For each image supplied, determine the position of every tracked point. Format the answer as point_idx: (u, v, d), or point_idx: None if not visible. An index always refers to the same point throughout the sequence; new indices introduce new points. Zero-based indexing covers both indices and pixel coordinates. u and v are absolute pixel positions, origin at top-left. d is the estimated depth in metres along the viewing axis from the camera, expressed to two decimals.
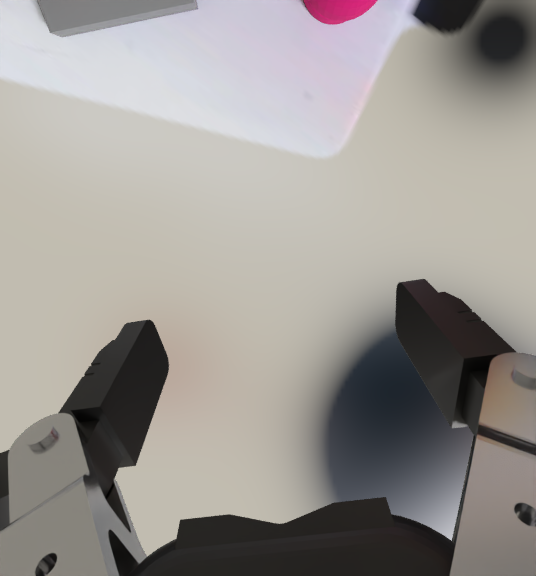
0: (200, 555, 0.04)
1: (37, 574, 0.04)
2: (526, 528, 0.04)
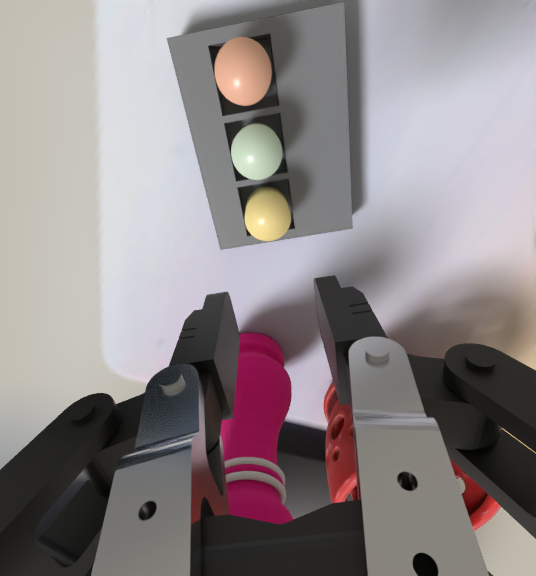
0: (200, 555, 0.04)
1: (140, 514, 0.04)
2: (409, 494, 0.04)
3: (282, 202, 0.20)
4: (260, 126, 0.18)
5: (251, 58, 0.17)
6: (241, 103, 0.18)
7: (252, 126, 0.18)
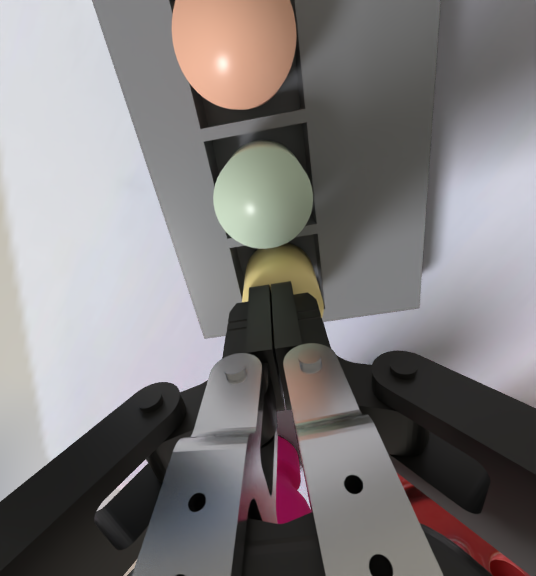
0: None
1: (189, 503, 0.04)
2: (356, 498, 0.04)
3: (309, 284, 0.11)
4: (270, 151, 0.09)
5: (252, 5, 0.07)
6: (231, 105, 0.08)
7: (254, 151, 0.09)
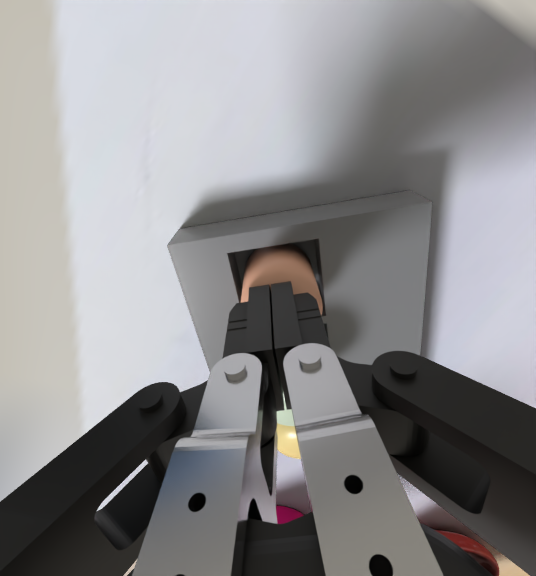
0: None
1: (190, 503, 0.04)
2: (357, 497, 0.04)
3: None
4: None
5: None
6: None
7: None
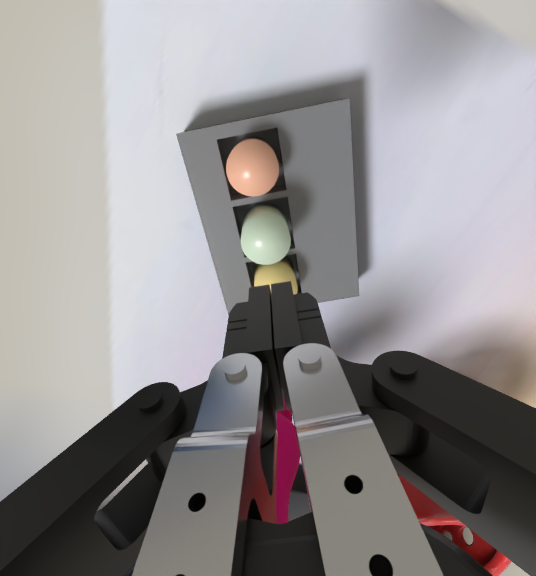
0: None
1: (189, 503, 0.04)
2: (356, 496, 0.04)
3: (289, 275, 0.22)
4: (269, 219, 0.19)
5: (260, 158, 0.18)
6: (251, 194, 0.19)
7: (261, 219, 0.19)
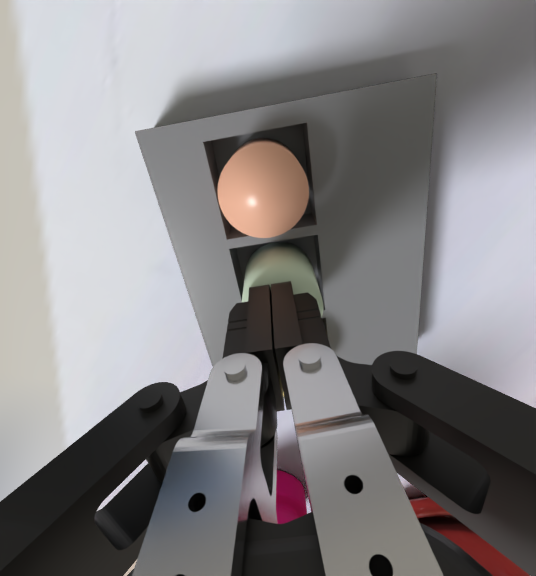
0: None
1: (189, 503, 0.04)
2: (357, 497, 0.04)
3: None
4: (289, 276, 0.11)
5: (277, 175, 0.10)
6: (259, 235, 0.11)
7: (276, 276, 0.11)
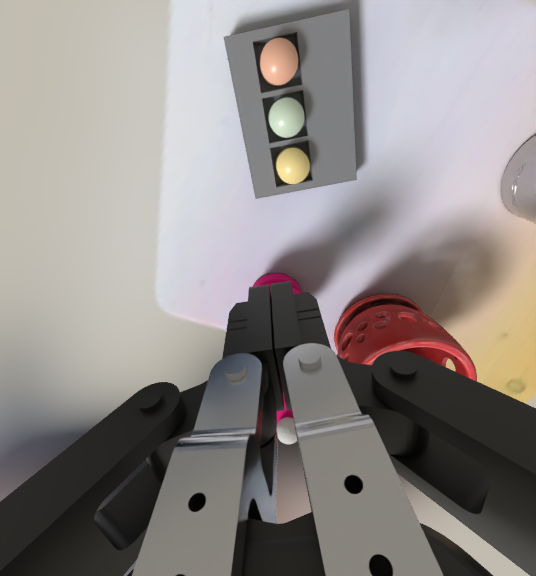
0: None
1: (189, 503, 0.04)
2: (356, 496, 0.04)
3: (303, 154, 0.29)
4: (289, 98, 0.27)
5: (285, 51, 0.25)
6: (277, 82, 0.26)
7: (284, 98, 0.27)
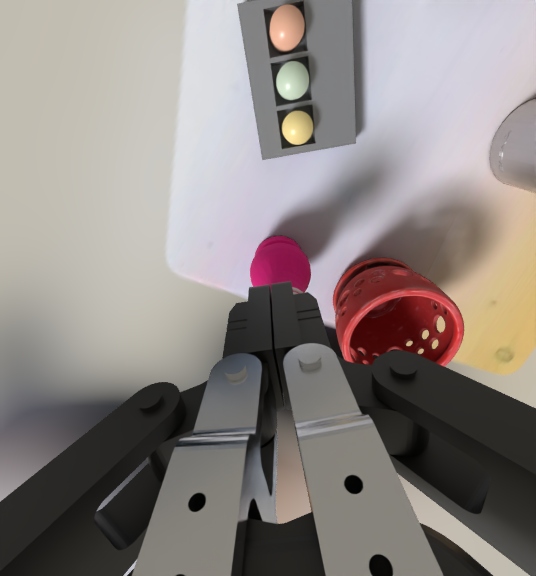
0: None
1: (189, 503, 0.04)
2: (356, 498, 0.04)
3: (308, 115, 0.31)
4: (296, 62, 0.29)
5: (292, 17, 0.28)
6: (285, 47, 0.29)
7: (291, 62, 0.29)
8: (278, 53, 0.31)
